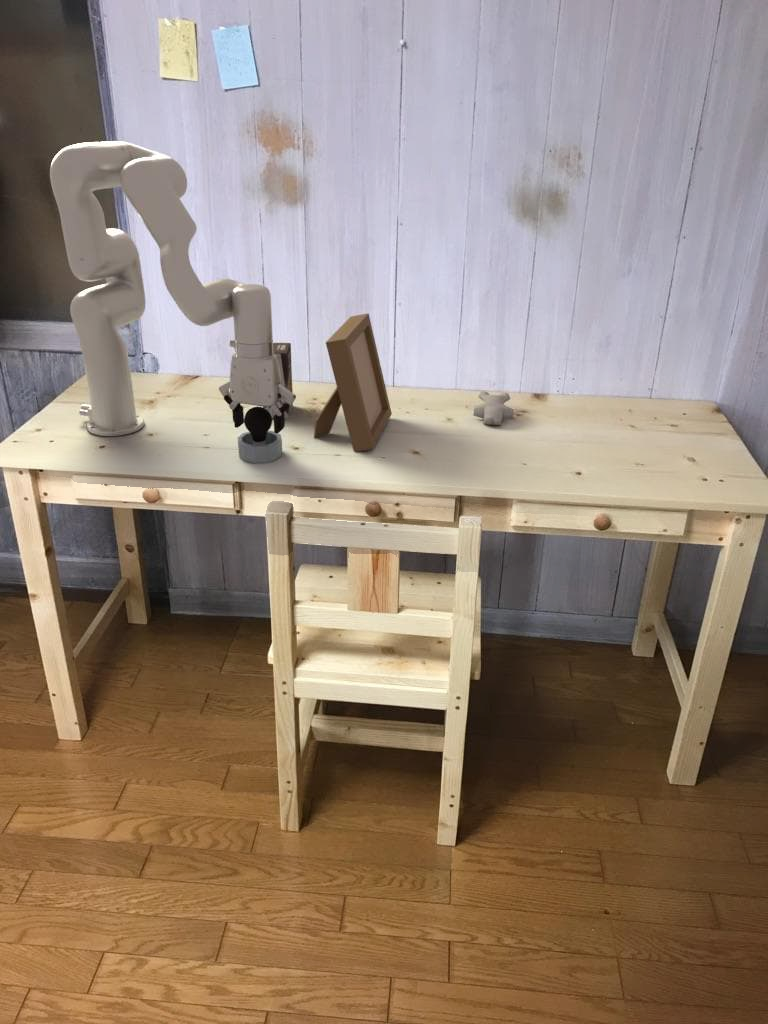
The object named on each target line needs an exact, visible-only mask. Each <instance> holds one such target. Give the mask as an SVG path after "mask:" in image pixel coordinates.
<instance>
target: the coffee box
mask: <svg viewBox="0 0 768 1024" xmlns="http://www.w3.org/2000/svg"><path fill="white" fill-rule="evenodd" d="M291 344H292V343H291V342H273V354H275V355H276V357H277V360H278V364H279V369H280V375H281V382H282V386H284V387H285V388H286V389H288V390H289V391H290V392H292V393H293V394H294V392H293V373H292V371H293V369H292V367H293V366H292V345H291ZM281 401H282V403H283V404H285V402H286V398H285V397H284V396H282V399H281ZM262 407H263V408H265V409H266V410H268V411H269V413H270V414H271V417H272V419H274V415H276V413H275V412H274V411H273V409H272V408H271V407H264V406H262ZM293 407H294V402H293V403H292V406H291V407H290V408H289V409H287V410H286V411H285V412H284V419H289V417H290V415H291V412H292V409H293Z"/></svg>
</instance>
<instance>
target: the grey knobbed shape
mask: <svg viewBox="0 0 768 1024" xmlns="http://www.w3.org/2000/svg"><path fill="white" fill-rule="evenodd" d="M477 397H478V398H479V399H480V400H481V401H483V403H482V404H478V405H475V406H473V415H472V416H474V417H477V418H481V419H482V420H483V425H492V426H502V425H501V424H502V423H503V422H502V421H504V420H510V419H513V418H514V410H515V409H514V408H511V407H510V406H507V405H504V404H505V403H506V402H508V401H510V400H511V397H510V394H509V393H508V392H501V393H500V394H490V393H489V392H487V391H483V390H482V391H480V392H479V394H478V396H477Z"/></svg>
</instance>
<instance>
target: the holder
mask: <svg viewBox="0 0 768 1024" xmlns="http://www.w3.org/2000/svg"><path fill="white" fill-rule="evenodd" d="M282 439H283V438H282V435H281V434H280V433H278V434H277V433H275V432H274V430H268V432H267V435H266V440H265V445H254V442H253V439H252V436H251V434H250V432H249V431H247V432H243V433H241V434H240V435H239V436H238V437H237V448H238V449H237V450H238V457H239V459H240V460H242V461H243V462H244V463H248V464H256V465H257V464H259V465H260V464H268V463H273V462H275V461H277V460H279V459H280V458H282V456H283V440H282Z"/></svg>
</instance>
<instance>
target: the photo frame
mask: <svg viewBox="0 0 768 1024" xmlns="http://www.w3.org/2000/svg"><path fill="white" fill-rule="evenodd" d="M375 339H376V338H375V336H374V330H373V327H372V322H371V317H370V313H363V314H357V315H352V316H351V315H350V316H349V318H347V320H346V321H345V322H344V323H343V324H342V325H341V326H340V327H338V328H337V330H336V331H335V332H334V333H333V334H332V335H331V336H330V337H329V338H328V339H327V341H325V345H326V349H327V354H328V357H329V360H330V365H331V369H332V373H333V376H334V380H335V385H336V388H335V389H334V391H333V392H332V393H331V395H330V397H329V399H328V400H327V401H326V403H325V405H324V406H323V408H322V409H321V411H320V412H319V414H318V415H317V417H316V418H315V421H314V429H313V430H314V431H313V432H314V433H313V439H317V437H318V438H320V436H321V437H323V435H324V436H326V435H325V434H327V435H329V434H330V433H331V430H332V427H333V426H334V423H335V420H336V418H337V416H338V413H339V411H340V408H341V409H342V412H343V415H344V420H345V423H346V424H345V425H346V427H347V430H348V434H349V438H350V443H351V447H352V450H353V452H354V451H355V452H362V451H368V450H373V449H374V448H375V446H376V444H377V441H378V440H379V438H380V436H381V434H382V433H383V431H384V429H385V427H386V425H387V424H388V421H389V419H390V418H391V415H392V414H393V413H392V409H391V405H390V401H389V397H388V392H387V387H386V382H385V378H384V375H383V370H382V365H381V362H380V358H379V353H378V348H377V344H376V340H375ZM328 433H329V434H328Z"/></svg>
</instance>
